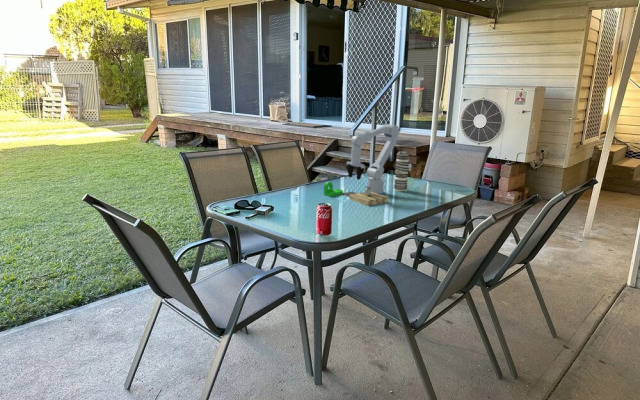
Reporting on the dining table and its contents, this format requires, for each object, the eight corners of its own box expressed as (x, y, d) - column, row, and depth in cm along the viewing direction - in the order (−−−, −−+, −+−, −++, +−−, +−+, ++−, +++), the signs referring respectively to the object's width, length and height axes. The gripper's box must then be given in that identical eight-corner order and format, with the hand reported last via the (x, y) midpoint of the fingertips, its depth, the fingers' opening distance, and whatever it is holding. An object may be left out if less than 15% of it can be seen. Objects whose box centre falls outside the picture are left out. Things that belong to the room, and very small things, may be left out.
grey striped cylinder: (393, 191, 276) (395, 152, 270) (393, 188, 285) (395, 150, 279) (407, 192, 275) (410, 153, 269) (407, 189, 284) (410, 151, 277)
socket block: (369, 196, 262) (369, 191, 261) (388, 202, 249) (388, 197, 248) (349, 199, 252) (349, 194, 252) (367, 205, 240) (367, 200, 239)
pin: (367, 199, 253) (368, 186, 251) (371, 200, 250) (372, 187, 248) (363, 200, 251) (364, 187, 249) (367, 201, 248) (368, 188, 246)
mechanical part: (330, 197, 257) (330, 184, 255) (323, 195, 262) (323, 182, 260) (344, 193, 265) (345, 181, 263) (338, 192, 269) (338, 179, 267)
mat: (351, 192, 271) (352, 191, 271) (362, 195, 264) (362, 194, 264) (339, 194, 266) (339, 193, 266) (350, 197, 258) (350, 196, 258)
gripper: (343, 154, 262) (341, 176, 265) (358, 158, 251) (357, 180, 254) (352, 154, 266) (350, 175, 270) (367, 157, 255) (366, 179, 258)
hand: (354, 178), depth 262 cm, fingers open, 7 cm apart
